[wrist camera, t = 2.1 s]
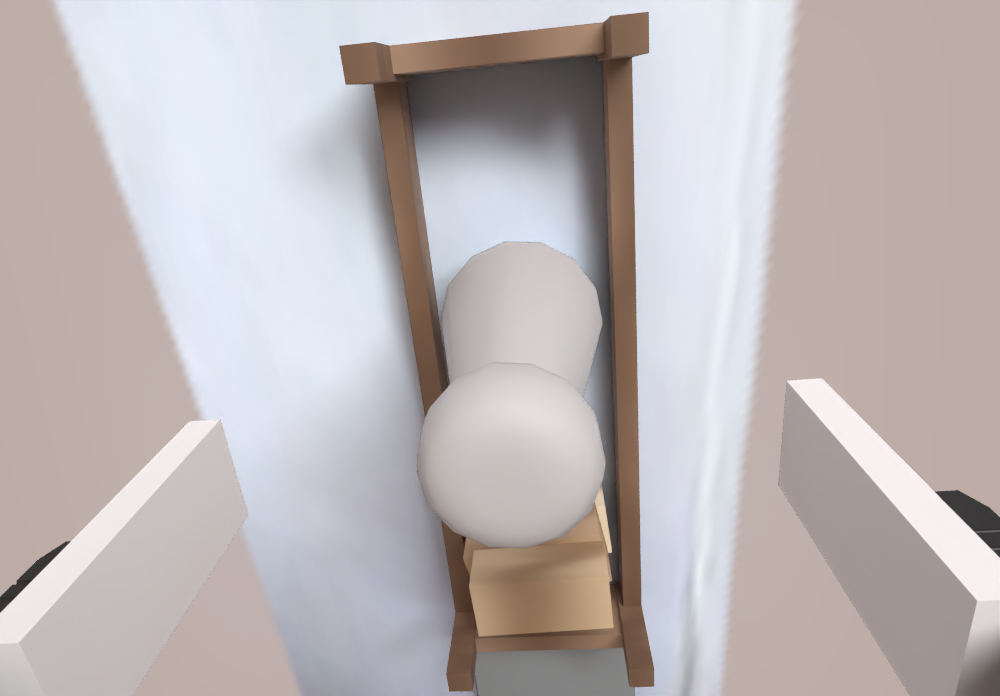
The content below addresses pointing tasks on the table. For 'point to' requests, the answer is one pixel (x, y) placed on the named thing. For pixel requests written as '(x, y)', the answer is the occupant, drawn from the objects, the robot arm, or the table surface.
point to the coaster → (553, 673)
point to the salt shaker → (515, 400)
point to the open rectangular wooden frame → (615, 50)
